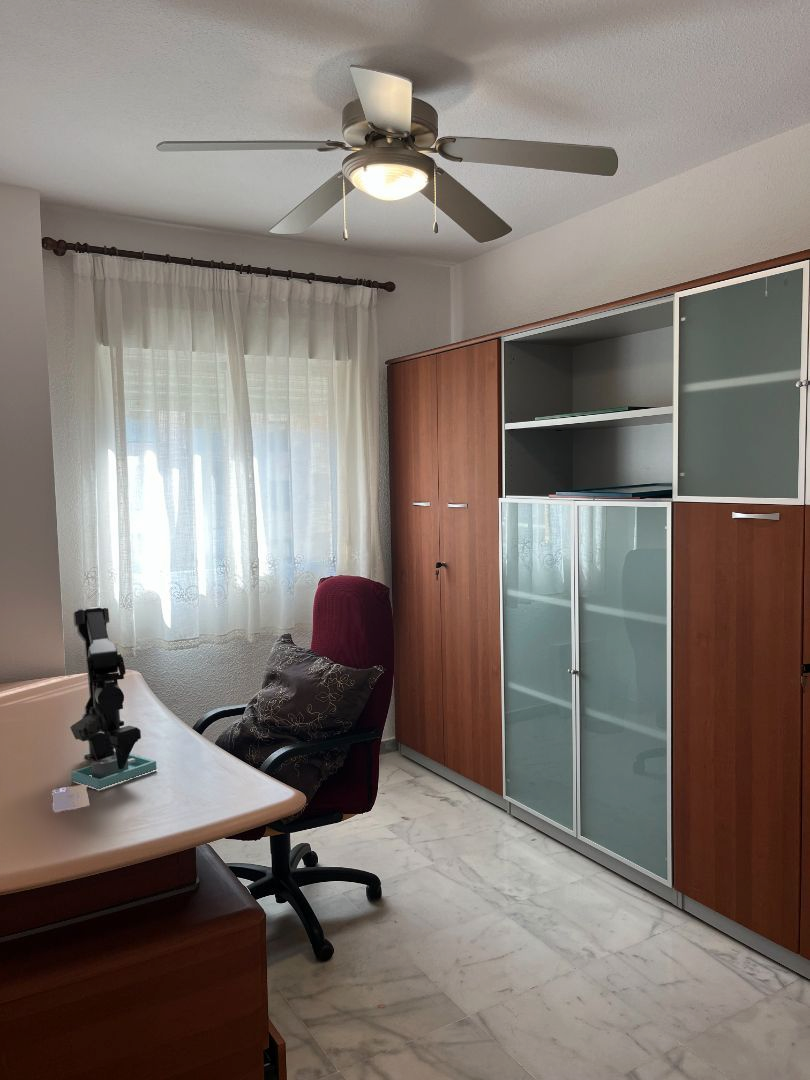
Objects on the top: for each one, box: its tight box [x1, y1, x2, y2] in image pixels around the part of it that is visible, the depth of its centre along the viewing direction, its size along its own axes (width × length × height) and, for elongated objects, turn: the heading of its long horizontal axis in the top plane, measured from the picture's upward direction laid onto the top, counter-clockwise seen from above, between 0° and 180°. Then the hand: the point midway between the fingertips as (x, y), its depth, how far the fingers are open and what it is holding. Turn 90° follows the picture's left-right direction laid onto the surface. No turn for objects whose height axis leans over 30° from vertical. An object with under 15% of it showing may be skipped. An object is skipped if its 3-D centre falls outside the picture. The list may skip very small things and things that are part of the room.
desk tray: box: [70, 753, 158, 789], centre depth 191 cm, size 12×16×2 cm
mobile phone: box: [51, 786, 80, 811], centre depth 178 cm, size 8×1×15 cm
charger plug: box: [90, 755, 136, 779], centre depth 191 cm, size 11×4×4 cm, turn 142°
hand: (110, 765), depth 190 cm, fingers open, 9 cm apart
